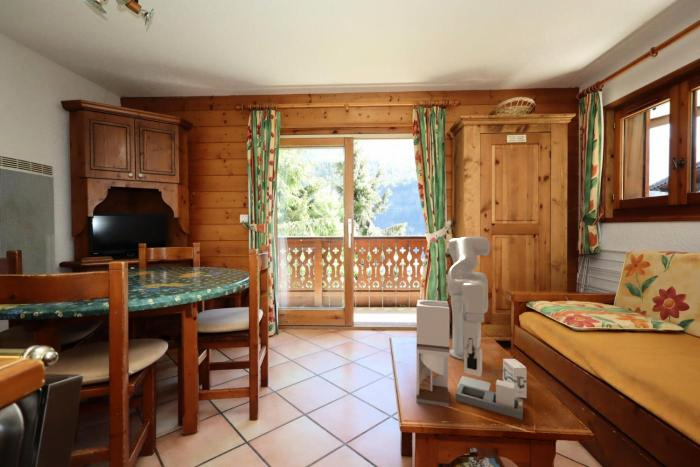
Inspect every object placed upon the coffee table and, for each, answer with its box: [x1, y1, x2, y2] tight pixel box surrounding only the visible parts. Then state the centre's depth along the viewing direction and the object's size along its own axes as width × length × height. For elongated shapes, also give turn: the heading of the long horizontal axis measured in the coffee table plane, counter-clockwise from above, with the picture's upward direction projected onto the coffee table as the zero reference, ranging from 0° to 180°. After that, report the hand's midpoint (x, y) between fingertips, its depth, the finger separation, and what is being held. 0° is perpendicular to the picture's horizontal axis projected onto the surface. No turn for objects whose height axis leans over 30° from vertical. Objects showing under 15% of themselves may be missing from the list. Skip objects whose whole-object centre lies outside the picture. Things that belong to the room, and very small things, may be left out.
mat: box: [456, 375, 491, 391], centre depth 116 cm, size 11×11×1 cm
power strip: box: [455, 384, 524, 421], centre depth 103 cm, size 8×21×4 cm, turn 58°
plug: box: [463, 346, 483, 378], centre depth 105 cm, size 4×6×9 cm
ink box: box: [502, 358, 528, 399], centre depth 111 cm, size 9×5×12 cm, turn 0°
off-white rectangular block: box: [495, 379, 516, 408], centre depth 100 cm, size 4×6×9 cm
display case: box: [415, 299, 450, 408], centre depth 109 cm, size 11×11×35 cm
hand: (473, 365), depth 105 cm, fingers closed on plug, 4 cm apart
